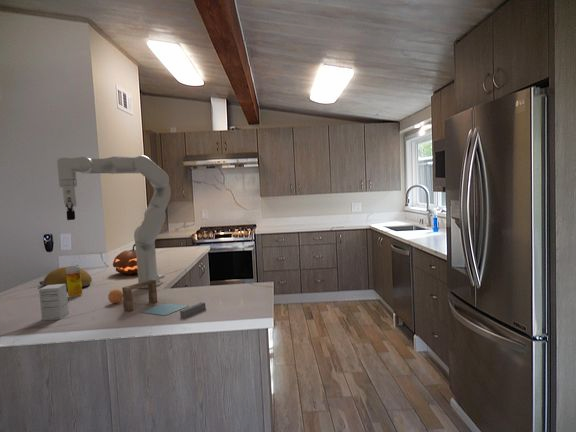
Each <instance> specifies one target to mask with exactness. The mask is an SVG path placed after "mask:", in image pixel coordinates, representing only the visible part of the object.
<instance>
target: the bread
mask: <svg viewBox="0 0 576 432" xmlns="http://www.w3.org/2000/svg"><path fill="white" fill-rule="evenodd" d="M66 267H67V266H63V267H58V268H56V269H54V270H51V271H50V272H49V273H48V274H47V275H46V276H45V277H44V280H43V282H44V284H45V286H47V285H55V284H66V290H68V287H67V276H66ZM80 272H81V283H82V288H84V287H87V286H89V285H90V284H92V279H93V278H92V276H91V275H90V273H89V272H87V271H86V270H84V269H82V268H80Z"/></svg>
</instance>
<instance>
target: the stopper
mask: <svg viewBox="0 0 576 432" xmlns="http://www.w3.org/2000/svg"><path fill="white" fill-rule="evenodd" d="M206 307H207V306H206V302H199V303H195V304H194V305H191V306H189V307H186V308H184V309H181V310H179V312H180V313H179V316H180V318H183V319H185V318H188V317H190V316H192V315H195V314H197V313H200V312H202V311H204V310H206Z"/></svg>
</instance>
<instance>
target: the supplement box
mask: <svg viewBox="0 0 576 432" xmlns="http://www.w3.org/2000/svg"><path fill="white" fill-rule="evenodd" d="M38 292H39V293H38V295H39V302H40V311H41V312H40V313H41V321H51V320H52V321H54V320H61V319H63V318H64V317H66V316H68V314H69V303H68V290H67V289H66V284H55V285H45V286H43V287H41V288H39V289H38Z"/></svg>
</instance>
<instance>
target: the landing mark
mask: <svg viewBox="0 0 576 432" xmlns="http://www.w3.org/2000/svg"><path fill="white" fill-rule="evenodd" d="M189 307H190V306H189V305H184V304H183V305H182V304H174V303H162V304H160V305H157V306H155V307H151V308H148V309H147V310H146V309H145V310H143V311H141V313H142V314H150V315H156V316H163V317H165V316H168V315H171V314H173V313H176V312H179V311H181V310H184V309H186V308H189Z"/></svg>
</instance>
